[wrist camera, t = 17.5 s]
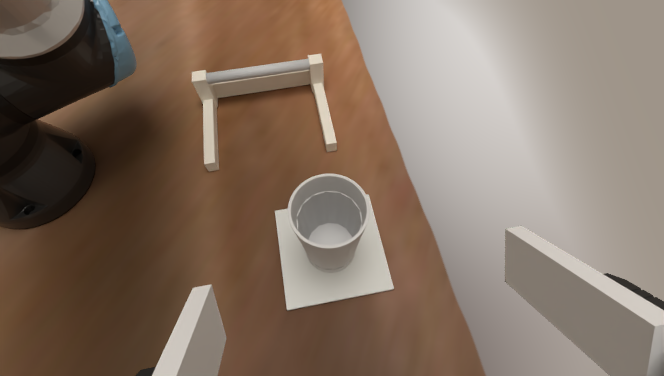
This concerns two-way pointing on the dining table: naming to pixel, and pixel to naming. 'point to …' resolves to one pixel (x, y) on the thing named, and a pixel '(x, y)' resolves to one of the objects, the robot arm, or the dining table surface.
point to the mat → (323, 287)
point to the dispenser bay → (258, 81)
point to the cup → (329, 219)
